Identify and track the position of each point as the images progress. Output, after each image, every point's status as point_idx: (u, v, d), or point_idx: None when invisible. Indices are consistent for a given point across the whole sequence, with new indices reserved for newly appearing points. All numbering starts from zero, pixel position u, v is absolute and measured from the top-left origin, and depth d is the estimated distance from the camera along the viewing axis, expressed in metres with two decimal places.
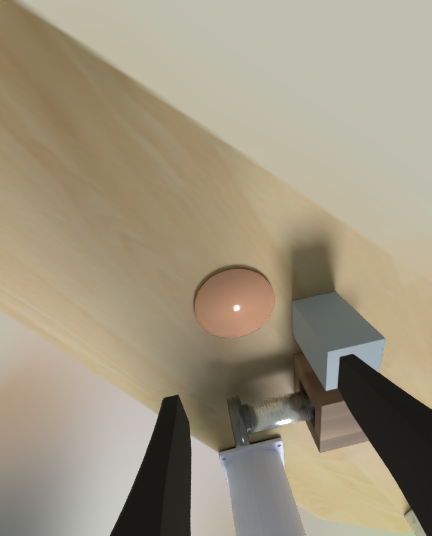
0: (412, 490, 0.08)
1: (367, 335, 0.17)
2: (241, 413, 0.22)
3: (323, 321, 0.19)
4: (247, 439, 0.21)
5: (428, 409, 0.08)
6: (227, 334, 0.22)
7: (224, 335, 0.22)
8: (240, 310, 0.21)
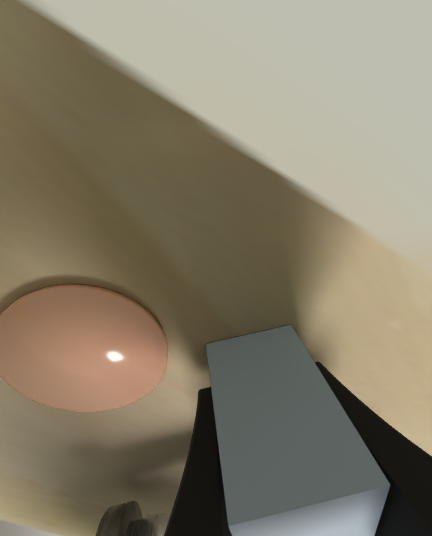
0: None
1: (341, 466, 0.06)
2: None
3: (248, 404, 0.08)
4: None
5: (381, 421, 0.08)
6: (86, 406, 0.11)
7: (80, 408, 0.11)
8: (98, 366, 0.10)
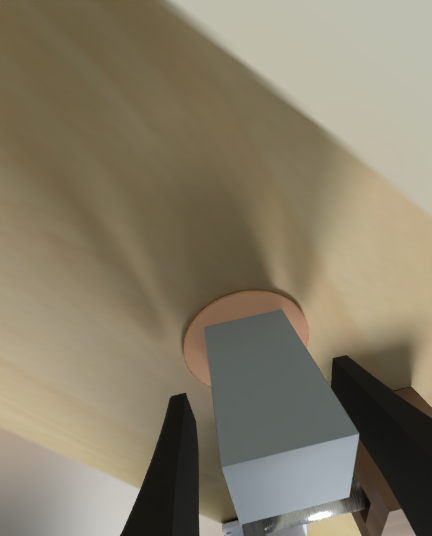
0: (403, 492, 0.08)
1: (318, 421, 0.07)
2: None
3: (241, 375, 0.09)
4: None
5: (419, 411, 0.08)
6: None
7: None
8: None
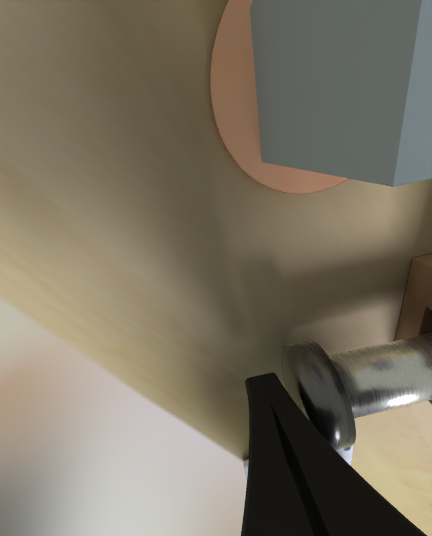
0: None
1: None
2: (331, 370, 0.09)
3: None
4: (352, 432, 0.08)
5: (318, 436, 0.07)
6: (287, 181, 0.09)
7: (279, 184, 0.09)
8: None
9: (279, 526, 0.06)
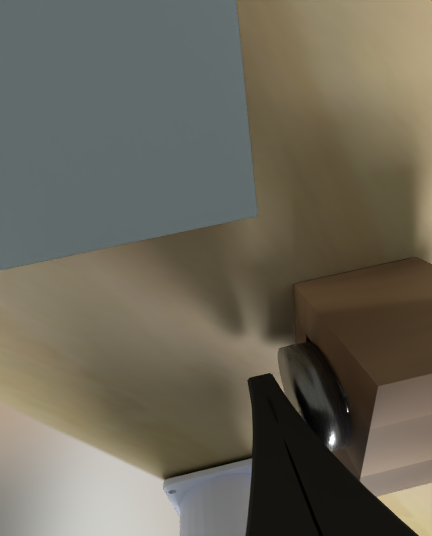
0: None
1: None
2: (327, 371, 0.09)
3: None
4: (348, 434, 0.08)
5: (313, 437, 0.07)
6: None
7: None
8: None
9: (284, 524, 0.06)
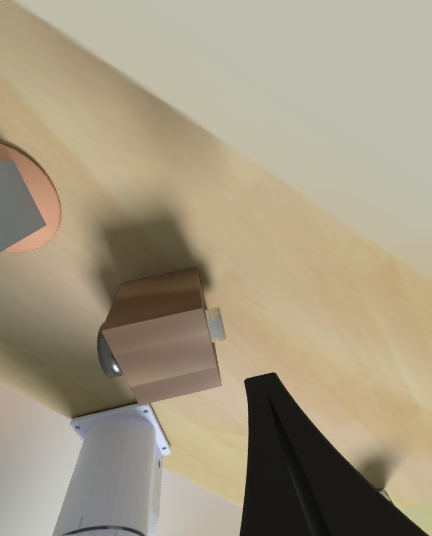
0: (307, 517, 0.08)
1: None
2: None
3: None
4: None
5: (319, 436, 0.07)
6: None
7: None
8: None
9: (278, 526, 0.06)
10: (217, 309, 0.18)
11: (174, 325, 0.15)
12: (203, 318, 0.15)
